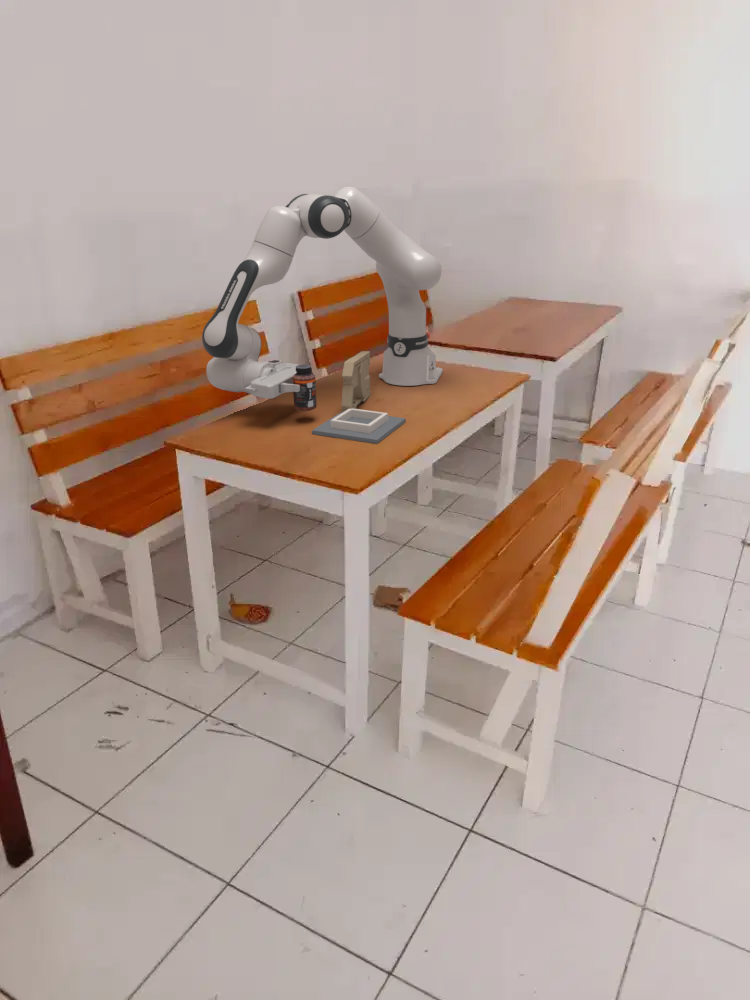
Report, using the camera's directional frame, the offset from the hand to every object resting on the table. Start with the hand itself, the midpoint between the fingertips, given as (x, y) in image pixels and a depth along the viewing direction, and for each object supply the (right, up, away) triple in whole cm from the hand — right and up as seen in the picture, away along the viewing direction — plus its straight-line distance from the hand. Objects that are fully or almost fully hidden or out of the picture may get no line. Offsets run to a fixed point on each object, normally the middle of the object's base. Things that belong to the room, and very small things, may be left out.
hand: (307, 384), depth 204 cm
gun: (+13, -4, +16) cm, 21 cm away
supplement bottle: (-1, -6, +3) cm, 7 cm away
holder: (+14, -11, -2) cm, 18 cm away
